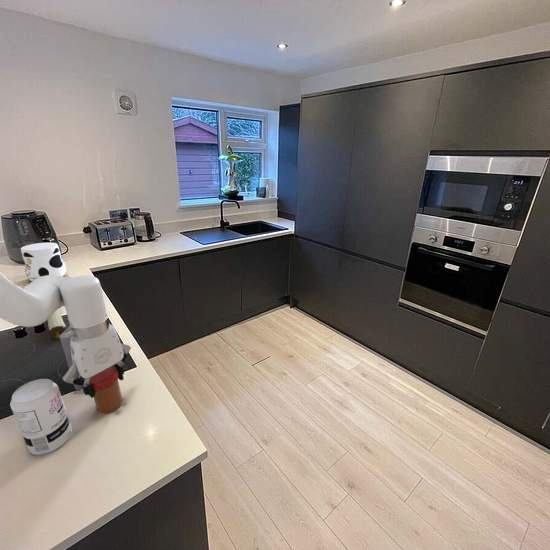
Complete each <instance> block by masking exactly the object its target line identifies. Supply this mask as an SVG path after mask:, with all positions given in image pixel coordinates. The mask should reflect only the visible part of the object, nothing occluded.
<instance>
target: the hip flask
mask: <svg viewBox="0 0 550 550" xmlns="http://www.w3.org/2000/svg"><path fill="white" fill-rule="evenodd" d="M65 329H66V330H65V331H64V332H63V333H62V334H61V335H60V336H59V337H60V339H59V340H60V343H61V346H62V350H63V353H64V356H65V357H64V358H65V360H66V364H67V366H68V370H69V369H70V367H71V366H72V364H73V362H72V357H71V348H70V339H71V337H68V338H66V336H65V332H68V330H69V329H70V327H69V326H68V327H66V328H65ZM79 375H80V374H79V372H76V373H75V375H74V376H73V377H78V378H79ZM73 387H74V389H75V390H76V391H80V390H81V391H82V390H83V389H82V386H81V385H75V384H73Z"/></svg>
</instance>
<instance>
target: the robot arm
mask: <svg viewBox="0 0 550 550" xmlns="http://www.w3.org/2000/svg"><path fill="white" fill-rule="evenodd" d="M62 307H64V308H65V312H66V315H67V320H68V324H69V326H68V327H70V329H69V330H68V332H65V336H66V338H68V337H71V339H70V348H71V357H72V362H73V364H72V366H71V367H70V369H69V368H68V370H67V371H66V373H65V374H64V376H63V377H62V381H63V382H65V383H67V384H72V385H74V384H75V385H81V386H82V389H81V390H82V392H83V394H84V395H85V396H89V398H91V399H94V396H95V394H94V391H93V387H92V384H91V383H90V382H89V381H90V378H91V377H92V376H94V375H96V374H98V373H99V372H101V371H103V370H105V369H107V368H109V367H111V366H114V367H116V368H117V370H118V373H119V377H118V381H123V380H124V374H125V372H124V366H125V361H126V359H127V358H128V354H129V353H130V351H131V349H132V347H131V346H130V345H129V344H125V343H121V340H120V338H119V336H118V331H117V330H116V329H115V327H114V325H113V324H111V323H110V322H109V317H108V314H107V309H106V303H105V299H104V293H103V290H102V285H101V282H100V280H99V278H97V277H96V276H94V275H93V276H92V275H77V276H65V275H64V276H54V275H47V276H41V277H39V278H37V279H35V280H34V281H30V283H28V284H27V285H25V286H24V287H23V288H22V287H20V286H19V285H17V284H15V283H14V282H13V281H11V280H9V279H8V278H7V277H6V276H5V275H4V274H3V273H2V272H1V271H0V319H2V320H3V321H6V322H8V323H10V324H13V325H15V326H19V327H24V328H32V327H33V328H34V327H37V326H39V325H42V324H44V323H45V322H46V321H47V319H49V318H50V317H51V315H52V314H53V313H54V312H55V311H56V310H57V309H59V308H60V309H61V308H62ZM76 372H79V374H80V375H79V378H78V377H73V376H74V375H75V373H76Z"/></svg>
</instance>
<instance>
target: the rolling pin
mask: <svg viewBox="0 0 550 550" xmlns="http://www.w3.org/2000/svg"><path fill="white" fill-rule="evenodd" d="M46 321H47V327H48V330H49V331H48V335H49V337H50V338H51V339H54V340H60V337H59V336H60V335H61V334H62V333H63V332H64V331H65V330H66V329H67V326H66V323H65V322H64V320H63V317H62V314H61V307H60V308H59V309H57V310H56V311H55V312H54V313H53V314H52V315H51V317H50V318H49V319H47V320H46Z"/></svg>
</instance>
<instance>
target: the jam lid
mask: <svg viewBox="0 0 550 550" xmlns="http://www.w3.org/2000/svg"><path fill="white" fill-rule="evenodd" d="M118 377H119V373H118V370H117V368H116V367H114V366H113V365H112V366H111V367H109V368H107V369H105V370H103V371H101V372H99V373H98V374H96V375H94V376H92V377H91V378H90V381H89V382H90V383H91V384H92V387H93V389H94V390H100V389H104V388H107V387H109V386H111V385H113V384H114V383H115V382H116V381H117V380H118V381H119V379H118Z"/></svg>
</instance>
